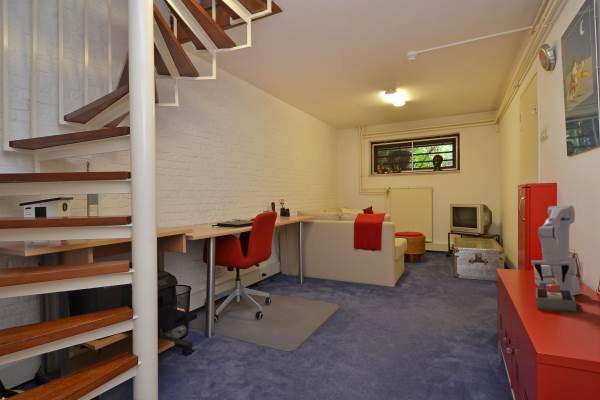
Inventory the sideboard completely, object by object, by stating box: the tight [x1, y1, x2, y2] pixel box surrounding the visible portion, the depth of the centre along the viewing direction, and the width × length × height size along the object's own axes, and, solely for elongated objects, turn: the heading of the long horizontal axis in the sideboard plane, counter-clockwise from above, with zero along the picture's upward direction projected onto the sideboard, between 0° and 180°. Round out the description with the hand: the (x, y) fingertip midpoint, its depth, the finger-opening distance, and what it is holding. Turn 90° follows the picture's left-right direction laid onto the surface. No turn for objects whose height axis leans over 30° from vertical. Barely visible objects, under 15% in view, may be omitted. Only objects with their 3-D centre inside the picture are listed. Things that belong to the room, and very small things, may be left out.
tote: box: [535, 287, 577, 314], centre depth 142 cm, size 17×13×5 cm
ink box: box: [533, 265, 554, 289], centre depth 171 cm, size 9×5×12 cm, turn 168°
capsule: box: [545, 283, 561, 298], centre depth 146 cm, size 5×5×7 cm
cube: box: [547, 292, 562, 300], centre depth 139 cm, size 5×5×5 cm
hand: (552, 281), depth 146 cm, fingers open, 7 cm apart
